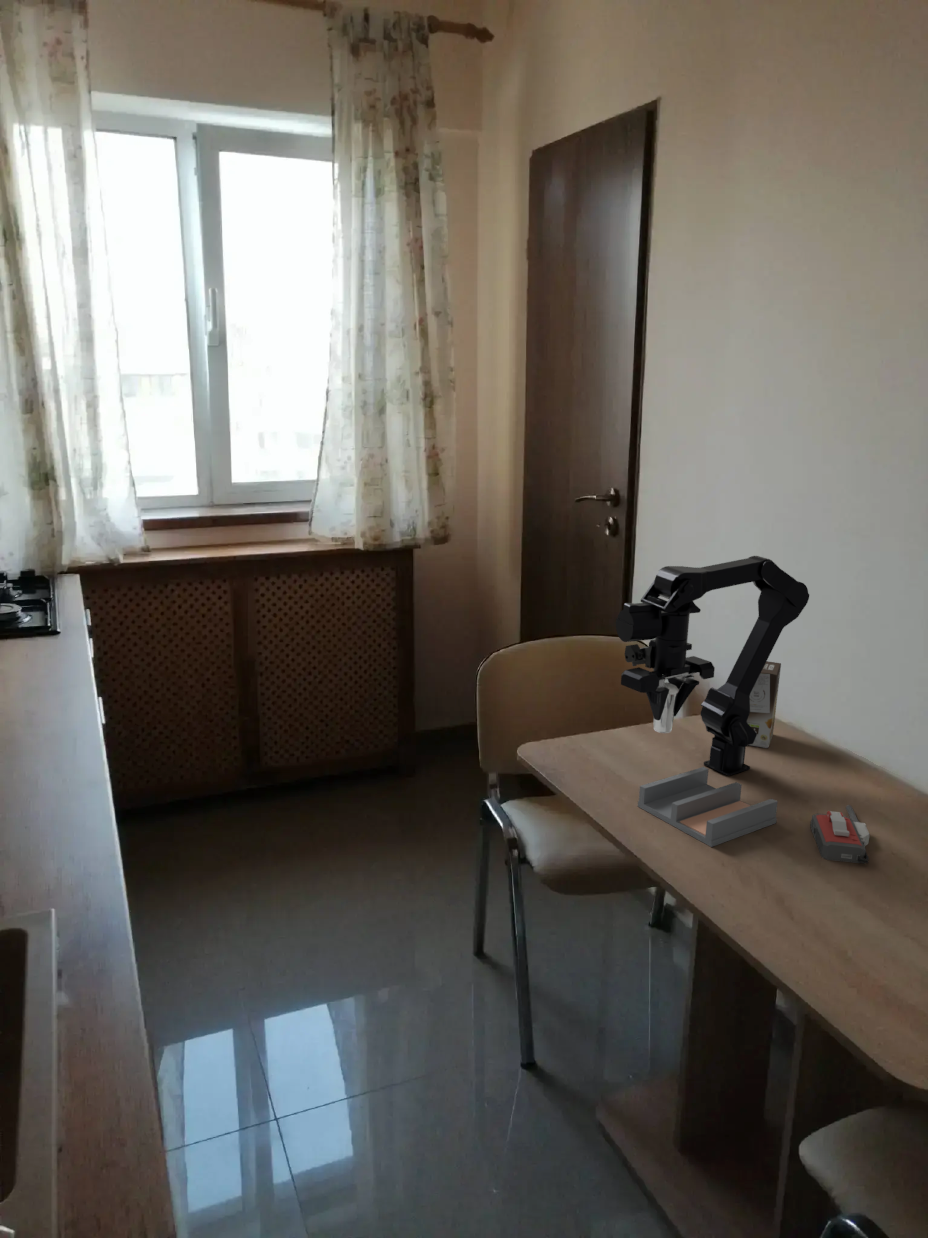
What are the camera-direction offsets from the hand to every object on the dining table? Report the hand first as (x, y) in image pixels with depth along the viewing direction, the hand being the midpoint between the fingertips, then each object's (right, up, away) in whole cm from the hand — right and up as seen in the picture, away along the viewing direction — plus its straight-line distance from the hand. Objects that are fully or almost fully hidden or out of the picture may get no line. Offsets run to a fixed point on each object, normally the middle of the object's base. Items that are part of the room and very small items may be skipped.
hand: (664, 717), depth 171 cm
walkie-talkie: (+25, -18, -17) cm, 36 cm away
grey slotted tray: (+5, -16, -11) cm, 20 cm away
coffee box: (+24, -7, +24) cm, 35 cm away
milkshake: (0, -3, +1) cm, 3 cm away
